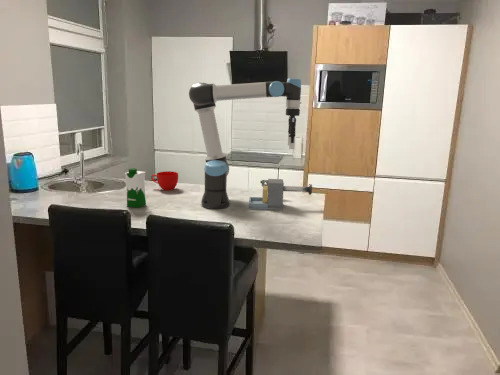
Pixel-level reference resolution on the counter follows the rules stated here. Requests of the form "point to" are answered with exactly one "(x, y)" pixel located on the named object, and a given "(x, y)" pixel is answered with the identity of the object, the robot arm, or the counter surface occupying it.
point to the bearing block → (275, 194)
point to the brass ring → (265, 194)
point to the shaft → (299, 189)
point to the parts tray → (257, 203)
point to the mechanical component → (264, 182)
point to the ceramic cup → (166, 180)
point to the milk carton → (135, 188)
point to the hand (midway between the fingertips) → (290, 147)
